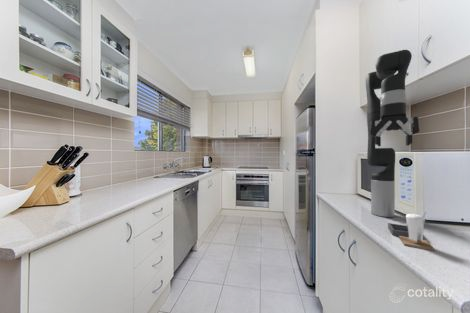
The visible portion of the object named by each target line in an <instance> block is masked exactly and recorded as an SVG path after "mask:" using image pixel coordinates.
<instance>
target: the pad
mask: <svg viewBox="0 0 470 313" xmlns="http://www.w3.org/2000/svg"><path fill="white" fill-rule="evenodd" d="M398 239H399V240H400V241H401V243H402V244H403V246H406V247H411V248H412V247H413V248H416V249H420V250H421V249H422V250H427V251H433V252H435V251H436V249H435V247H433V245H432V244H430V242H428V240H427V239H424V240H423V241H422V244H416V243H412V242H410V241H409V240H408V237H404V236H398Z"/></svg>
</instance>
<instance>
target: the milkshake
mask: <svg viewBox="0 0 470 313" xmlns="http://www.w3.org/2000/svg"><path fill="white" fill-rule="evenodd" d="M426 214H427V212H425V211H424V214H423V216H422V215H420V214H416V213H407V214H406V215H405V221H406V226H407V231H406V232H408V240H409V241H410V242H412V243H416V244H422V241H423V235H424V229H425V222H426V218H425V216H426Z"/></svg>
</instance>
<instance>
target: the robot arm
mask: <svg viewBox="0 0 470 313" xmlns="http://www.w3.org/2000/svg"><path fill="white" fill-rule="evenodd" d="M412 59H413V58H412V53H411V51H410V50H409V49H402V50H397V51H393V52H389V53H384V54H382V55H380V56H379V57H378V58H377V59H376V62H375V71H372V72H368V74H366V76H365V91H366V92H365V93H366V104H367V106H366V121H367V122H366V123H367V124H366V125H367V153H366V154H367V156H366V158H367V159H366V160H367V164H368V165H369V166H370V167H385V168H384V169H383V170H380V171H378V172H374V173H372V174H371V175H370V213H371V214H372V215H375V216H379V217H383V218H384V217H385V218H394V217H395V216H396V214H395V212H396V211H395V210H396V207H395V206H396V204H395V203H396V202H395V200H396V199H395V198H396V197H395V196H396V195H395V178H396V177H395V174H396V173H395V172H396V171H395V170H396V167H395V166H396V150H395V149H394V148H393V147H381V146H382V145H381V144H382V143H381V142H382V141H381V140H382V139H381V137H382V134H383V133H384V131H387V132H389V131H399V130H400V131H401V132H403V133H404V134H405V146H406V147H407V146H411V144H413V135H416V134H418V133H419V132H420V125H419V123H420V122H419V117H418V116H414V117H409V118H408V117H407V94H406V76H407V73H408V69H409V66H410V64H411V61H412ZM379 89H380V90H381V92H380V93H381V94H380V98H379V97H378V95H377V94H376V92H375V90H379ZM407 123H409V124H411V128H412V130H410V129H409V127H408V126H407V125H406V124H407ZM376 146H377V147H378V148H377V147H376Z"/></svg>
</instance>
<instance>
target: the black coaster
mask: <svg viewBox="0 0 470 313" xmlns="http://www.w3.org/2000/svg"><path fill="white" fill-rule="evenodd" d="M387 228H388V230H389V232H390V233H391V235H392V236H395V237H399V236H404V237H408V231H407V225H406V224H405V225H404V224H396V223H392V222H391V223H390V222H388V223H387ZM423 240H425V239H424V234H423Z"/></svg>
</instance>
